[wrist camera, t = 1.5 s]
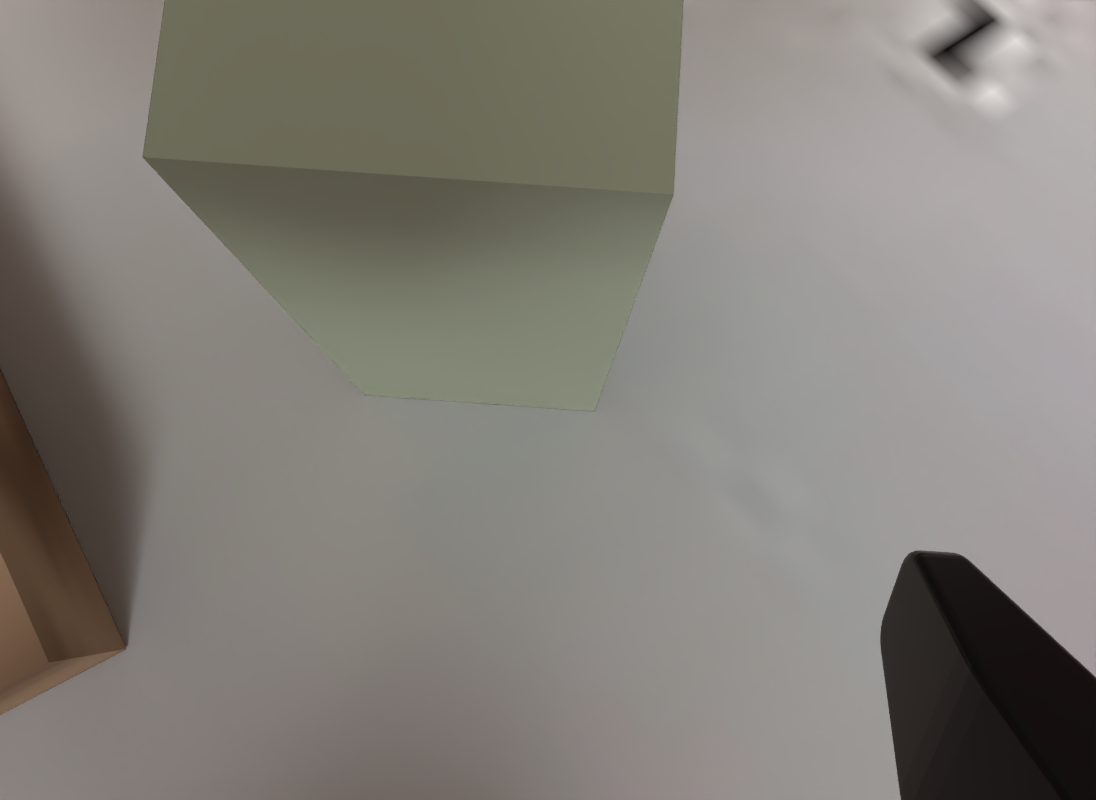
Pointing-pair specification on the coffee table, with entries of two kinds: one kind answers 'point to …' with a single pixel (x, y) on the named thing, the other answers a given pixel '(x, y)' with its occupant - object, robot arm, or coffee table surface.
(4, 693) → the base block
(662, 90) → the post
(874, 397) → the coffee table surface
